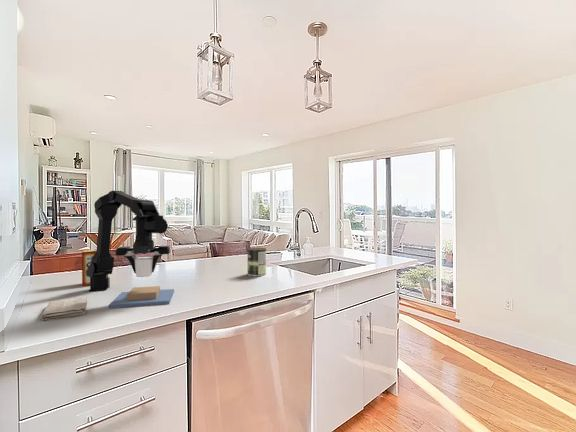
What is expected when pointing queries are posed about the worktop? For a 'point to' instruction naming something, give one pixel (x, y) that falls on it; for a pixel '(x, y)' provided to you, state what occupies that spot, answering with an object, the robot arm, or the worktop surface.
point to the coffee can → (256, 261)
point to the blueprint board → (147, 302)
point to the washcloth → (65, 309)
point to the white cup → (143, 266)
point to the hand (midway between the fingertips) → (144, 272)
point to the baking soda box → (86, 265)
